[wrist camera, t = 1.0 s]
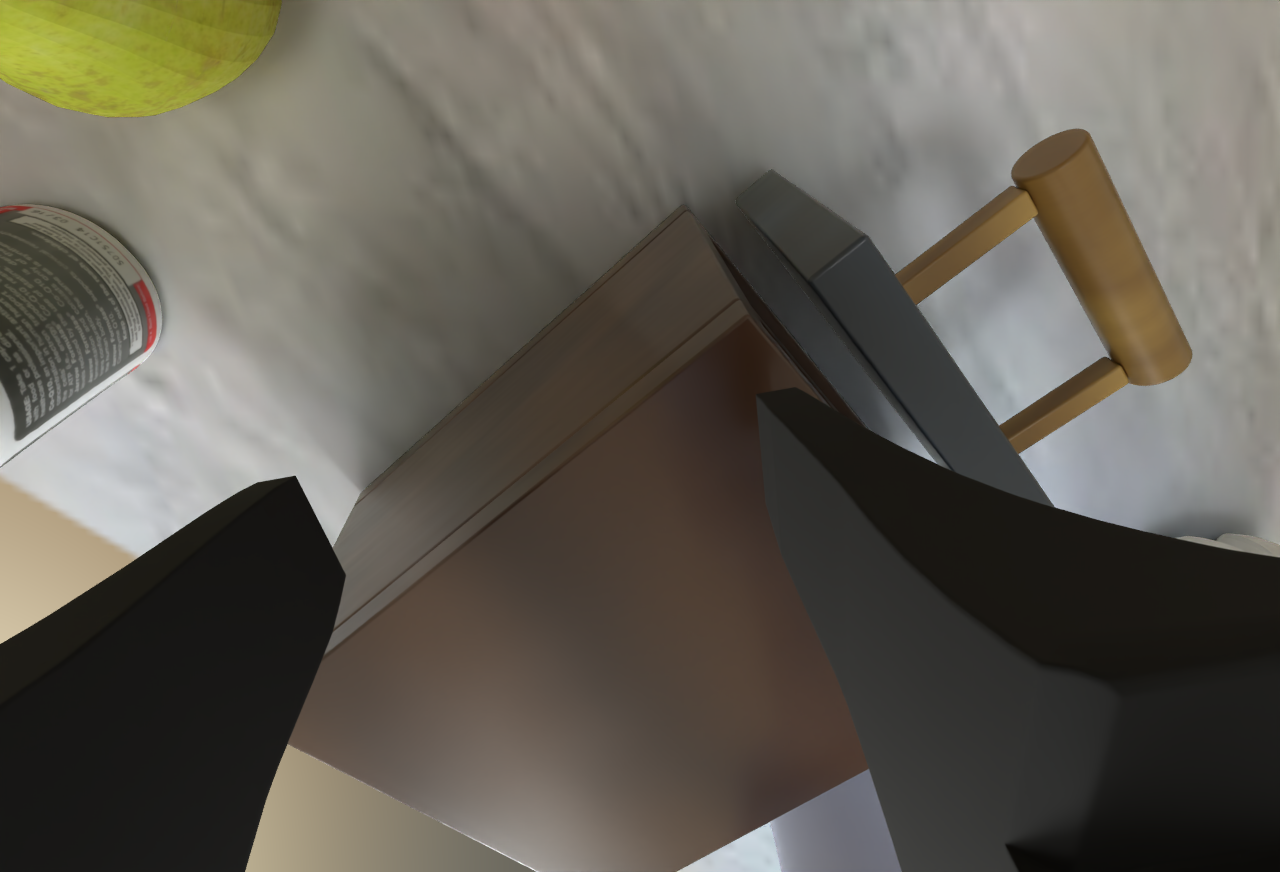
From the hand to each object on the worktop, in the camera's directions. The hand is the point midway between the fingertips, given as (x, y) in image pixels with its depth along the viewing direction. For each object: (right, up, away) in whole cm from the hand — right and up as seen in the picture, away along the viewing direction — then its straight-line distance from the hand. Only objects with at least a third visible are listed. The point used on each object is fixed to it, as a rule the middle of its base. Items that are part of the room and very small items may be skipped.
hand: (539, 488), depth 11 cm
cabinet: (+1, -1, +12) cm, 12 cm away
